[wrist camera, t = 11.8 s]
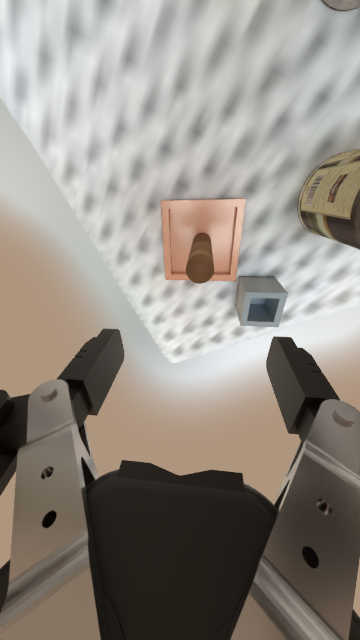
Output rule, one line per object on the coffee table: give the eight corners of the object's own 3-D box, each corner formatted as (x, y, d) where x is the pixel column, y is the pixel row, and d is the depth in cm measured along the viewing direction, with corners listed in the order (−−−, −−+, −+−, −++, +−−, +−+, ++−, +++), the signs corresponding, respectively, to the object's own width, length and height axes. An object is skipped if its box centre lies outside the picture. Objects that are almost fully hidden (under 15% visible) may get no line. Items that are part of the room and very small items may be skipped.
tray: (163, 200, 32) (160, 200, 30) (243, 198, 30) (245, 199, 28) (167, 275, 38) (165, 279, 36) (233, 276, 37) (235, 281, 35)
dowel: (192, 232, 33) (185, 255, 21) (211, 232, 32) (215, 255, 21) (192, 251, 34) (185, 283, 23) (210, 251, 34) (213, 283, 22)
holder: (239, 276, 37) (246, 292, 31) (274, 276, 36) (287, 293, 30) (235, 305, 40) (240, 325, 34) (267, 306, 39) (278, 327, 33)
